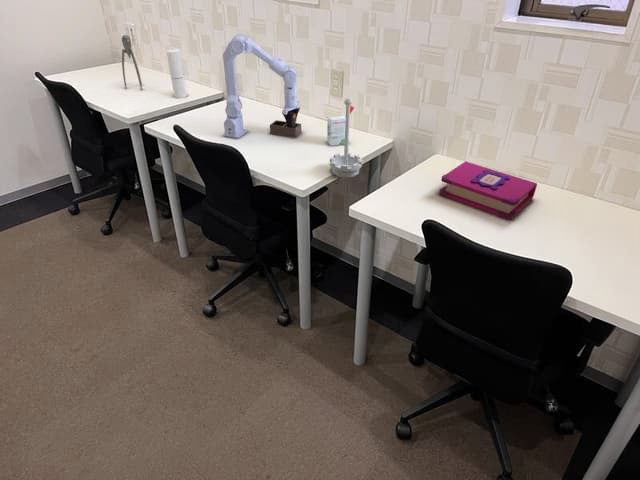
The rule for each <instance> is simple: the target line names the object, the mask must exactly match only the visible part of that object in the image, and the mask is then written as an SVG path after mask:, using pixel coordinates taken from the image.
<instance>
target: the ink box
mask: <svg viewBox="0 0 640 480" xmlns="http://www.w3.org/2000/svg"><path fill="white" fill-rule="evenodd" d="M345 122H346V115H339V116H329V117H327V123H326V124H327V125H326V127H327V132H326V135H327V136H326V143H327V144H328V145H329V146H340V145H345Z"/></svg>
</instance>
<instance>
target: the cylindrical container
mask: <svg viewBox="0 0 640 480" xmlns="http://www.w3.org/2000/svg"><path fill="white" fill-rule="evenodd" d="M166 56H167V61H168V67H169V68H168V69H169V73H170V79H171V84H172V91H173V96H174V98H177V99H180V98H186V97H187V96H188V94H187V87H186V80H185V74H184V68H183V62H182V55H181V50H180V49H167V50H166Z"/></svg>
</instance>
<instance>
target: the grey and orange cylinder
mask: <svg viewBox="0 0 640 480" xmlns="http://www.w3.org/2000/svg"><path fill="white" fill-rule="evenodd" d="M296 123H297V119H296V115H295V113H294V116H293V121H292V126H291V128H295V127H296ZM287 127H289V126H287Z"/></svg>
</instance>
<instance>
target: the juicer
mask: <svg viewBox="0 0 640 480" xmlns="http://www.w3.org/2000/svg"><path fill="white" fill-rule="evenodd" d="M121 43H122V46H123V49H121V66H122V68H121V69H122V77H123V84H124V88H125V89H126V90H127V89H128V87H127V81H126V72H125V54H126V55H127V56H128V59H131V58H132V61H133V65H134V69H135V72H136V76H137V79H138V83H139V87H140V90H141V91H142V90H143V82H142V78H141V74H140V70H139V67H138V63H137V61H136V57H135V55H134V52H133V49H132V41H131V38H130V36H128V35H126V34H124V35H122V36H121Z"/></svg>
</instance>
